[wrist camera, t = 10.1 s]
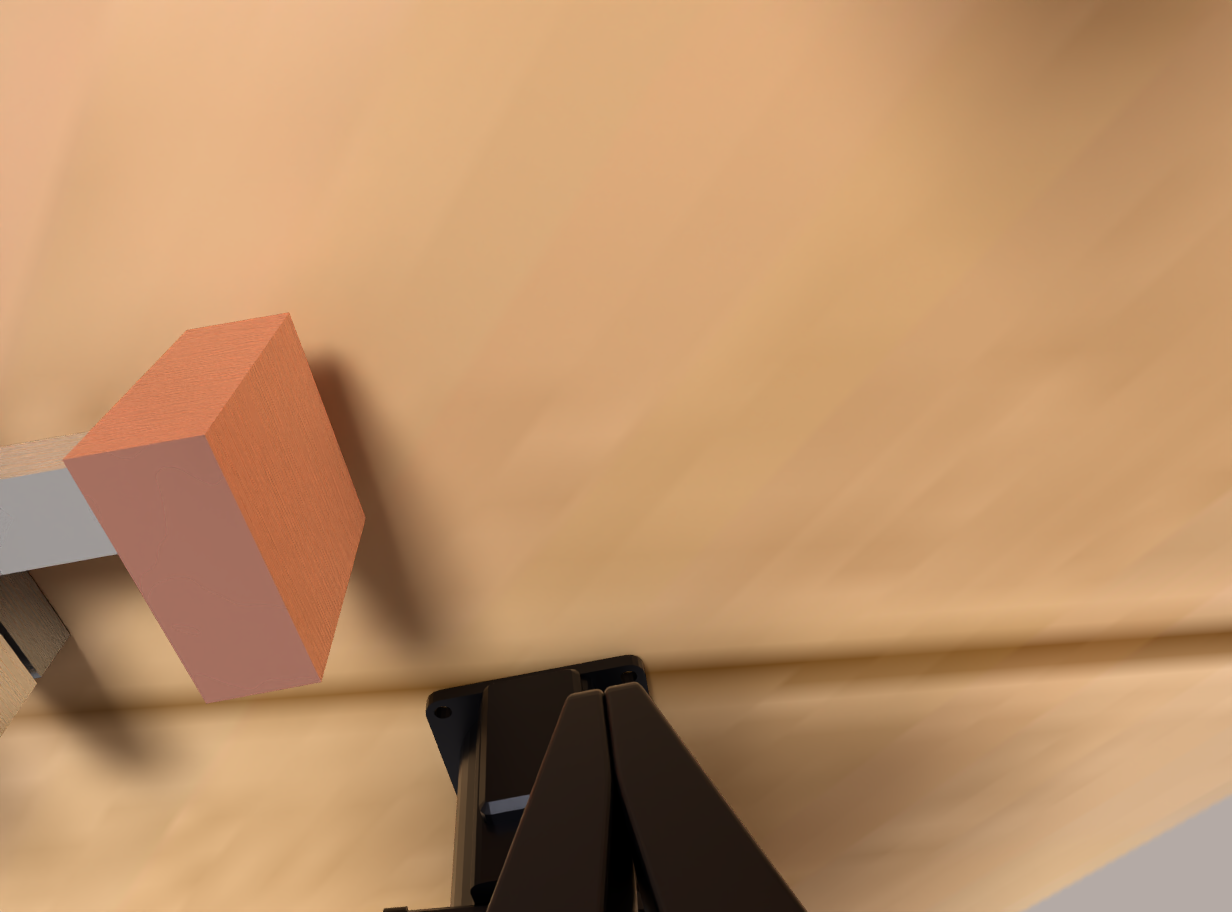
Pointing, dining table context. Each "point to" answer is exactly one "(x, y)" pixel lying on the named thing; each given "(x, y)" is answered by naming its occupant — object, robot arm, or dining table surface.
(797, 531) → the dining table surface
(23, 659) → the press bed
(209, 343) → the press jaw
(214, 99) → the dining table surface
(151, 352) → the dining table surface
